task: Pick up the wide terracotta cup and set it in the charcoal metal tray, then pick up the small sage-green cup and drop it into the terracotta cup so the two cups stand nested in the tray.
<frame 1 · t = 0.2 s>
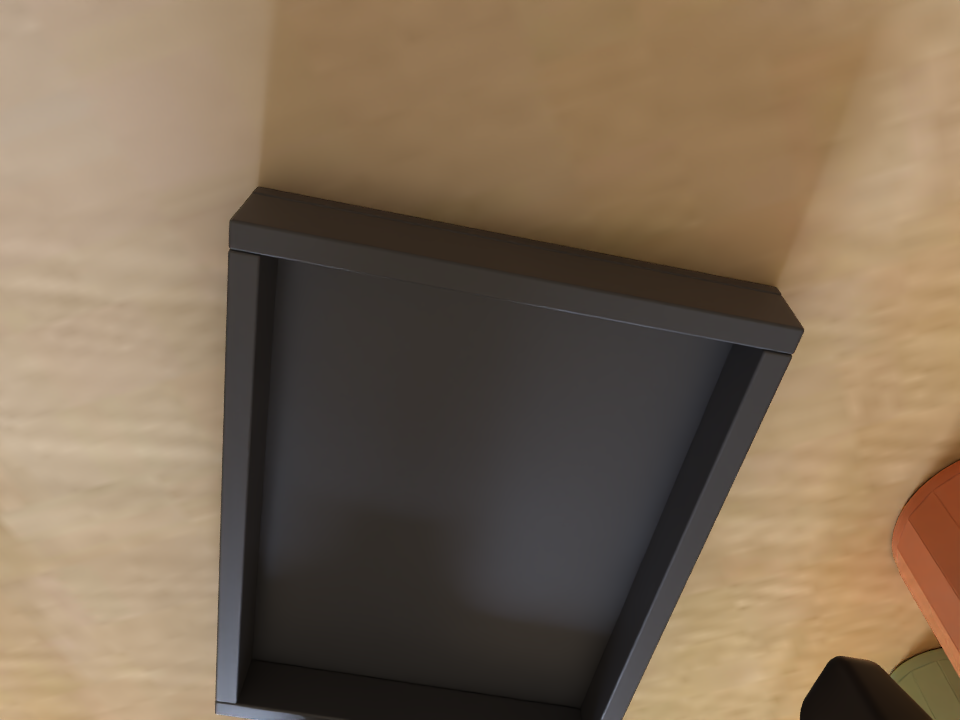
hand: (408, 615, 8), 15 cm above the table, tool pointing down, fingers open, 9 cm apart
small cup: (942, 683, 31), on the table
tray: (460, 503, 26), on the table
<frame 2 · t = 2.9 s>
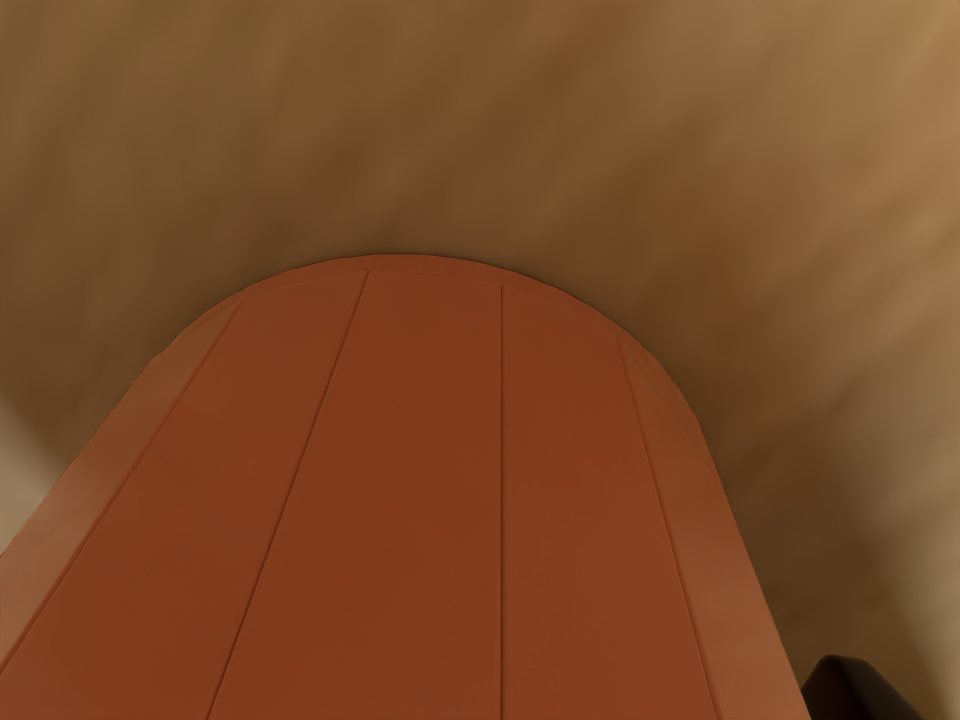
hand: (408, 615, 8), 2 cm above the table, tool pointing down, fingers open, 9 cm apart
big cup: (416, 523, 10), on the table
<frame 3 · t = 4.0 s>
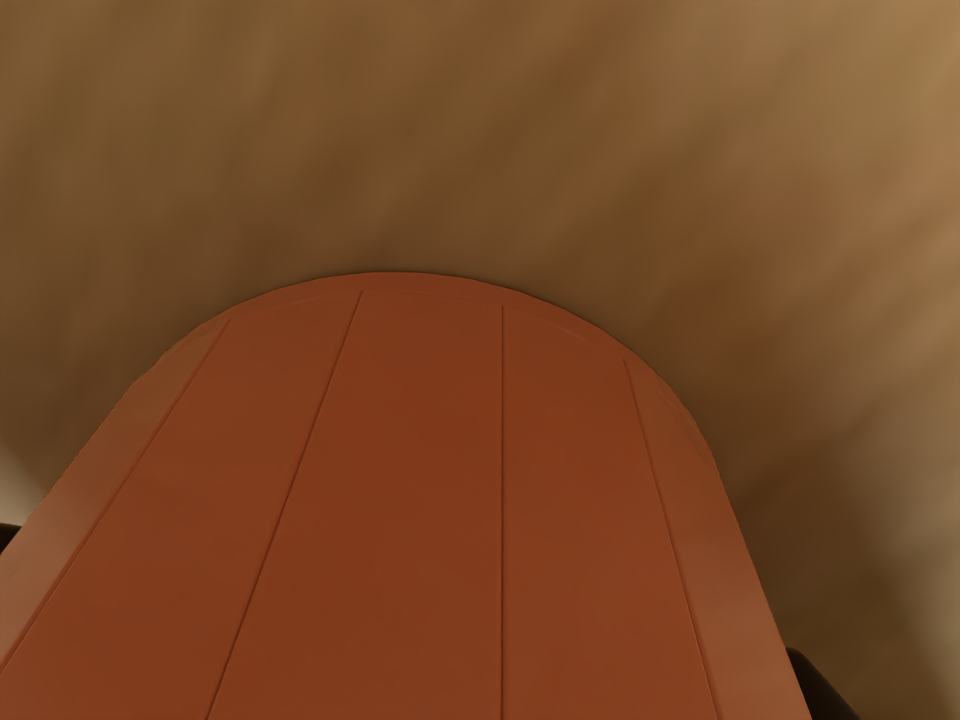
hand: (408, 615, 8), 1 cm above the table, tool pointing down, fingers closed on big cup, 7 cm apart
big cup: (413, 549, 9), on the table, touching gripper
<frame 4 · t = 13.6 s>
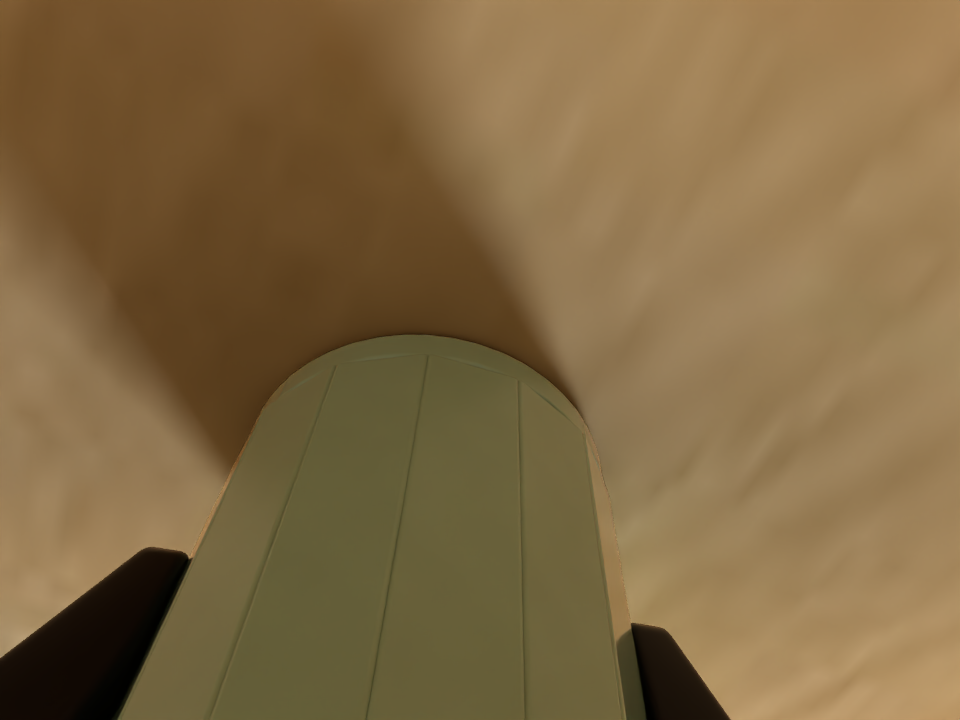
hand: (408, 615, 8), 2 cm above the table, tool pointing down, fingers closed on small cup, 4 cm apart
small cup: (424, 486, 10), on the table, touching gripper
when the fingers open (7 cm above the table, at t = 19.0 s): small cup drops 4 cm, resting on big cup.
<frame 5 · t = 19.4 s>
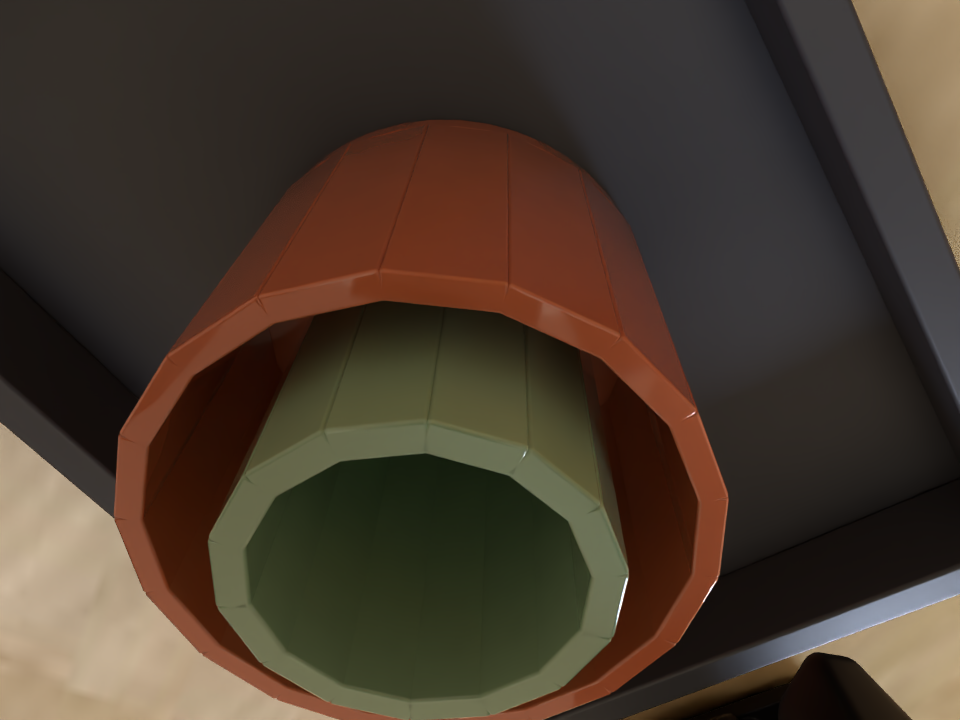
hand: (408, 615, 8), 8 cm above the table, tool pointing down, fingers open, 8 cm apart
small cup: (453, 311, 14), point 1 cm above the table, touching big cup
big cup: (450, 315, 15), resting on tray, touching small cup
tray: (453, 288, 15), on the table
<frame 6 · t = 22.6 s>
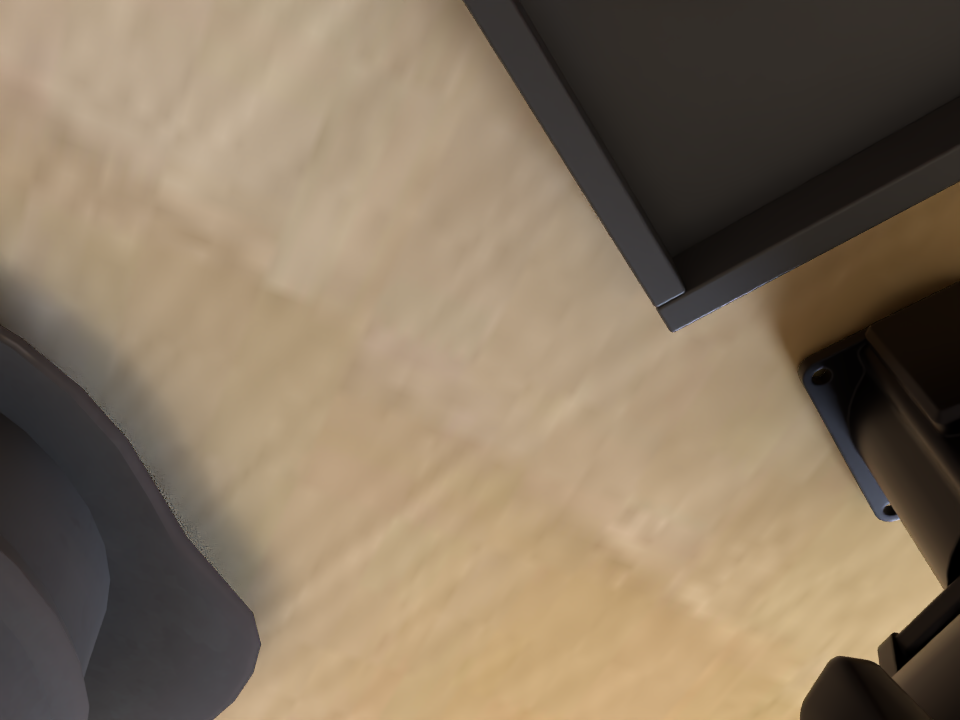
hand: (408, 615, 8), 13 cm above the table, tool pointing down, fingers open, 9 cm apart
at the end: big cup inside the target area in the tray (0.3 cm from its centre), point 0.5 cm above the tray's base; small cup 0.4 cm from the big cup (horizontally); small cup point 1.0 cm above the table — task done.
